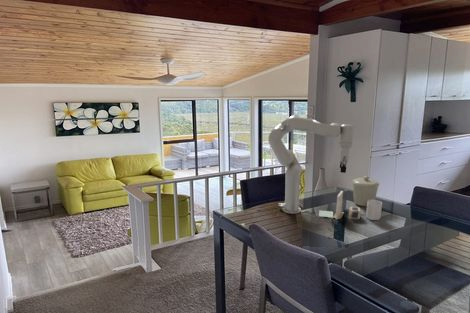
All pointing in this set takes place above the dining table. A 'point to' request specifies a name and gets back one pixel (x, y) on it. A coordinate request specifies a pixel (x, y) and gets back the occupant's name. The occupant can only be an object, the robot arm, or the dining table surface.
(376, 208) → the mug
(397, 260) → the dining table surface
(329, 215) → the mat
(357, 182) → the canister
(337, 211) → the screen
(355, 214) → the letter cube
